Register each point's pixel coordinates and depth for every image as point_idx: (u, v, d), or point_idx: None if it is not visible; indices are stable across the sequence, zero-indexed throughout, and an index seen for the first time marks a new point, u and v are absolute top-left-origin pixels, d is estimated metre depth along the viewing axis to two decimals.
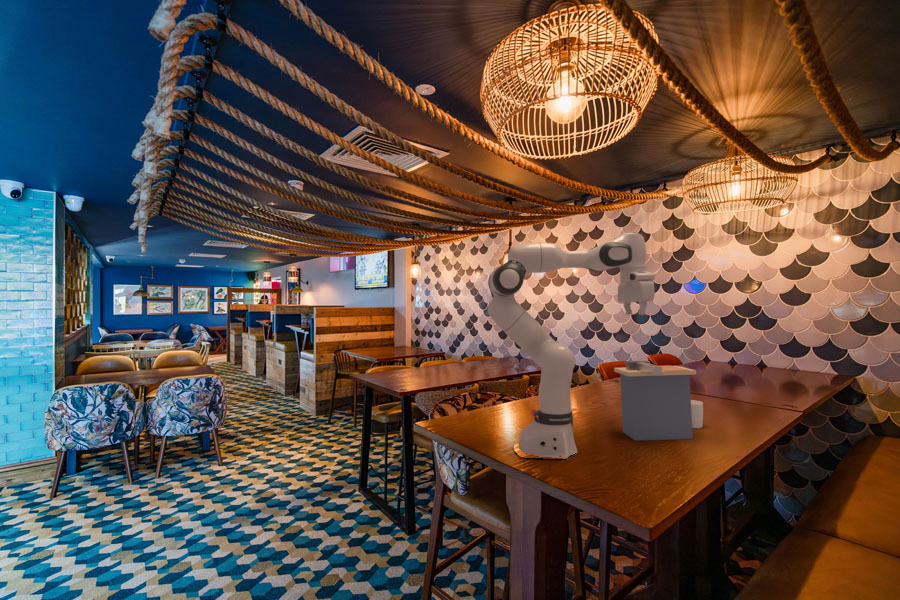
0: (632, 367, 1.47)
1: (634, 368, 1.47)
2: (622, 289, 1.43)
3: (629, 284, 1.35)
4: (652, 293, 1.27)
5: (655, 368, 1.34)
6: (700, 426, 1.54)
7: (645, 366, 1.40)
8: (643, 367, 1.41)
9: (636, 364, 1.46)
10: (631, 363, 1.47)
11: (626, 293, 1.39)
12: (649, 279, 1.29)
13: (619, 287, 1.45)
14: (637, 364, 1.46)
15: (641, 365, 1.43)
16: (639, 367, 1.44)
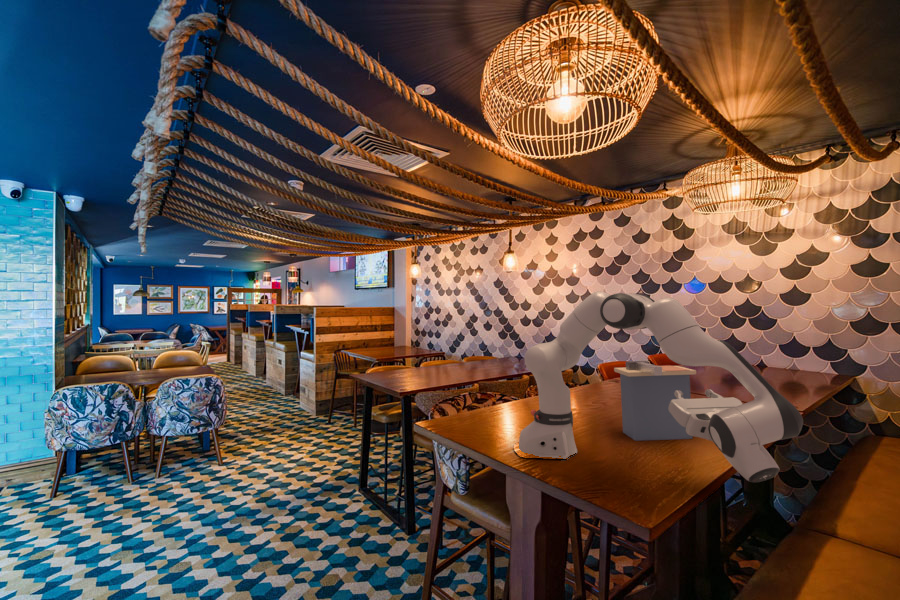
0: (632, 367, 1.47)
1: (634, 368, 1.47)
2: None
3: (711, 411, 1.05)
4: (672, 413, 1.10)
5: (655, 368, 1.34)
6: None
7: (645, 366, 1.40)
8: (643, 367, 1.41)
9: (636, 364, 1.46)
10: (631, 363, 1.47)
11: (717, 405, 1.08)
12: (686, 425, 1.05)
13: None
14: (637, 364, 1.46)
15: (641, 365, 1.43)
16: (639, 367, 1.44)
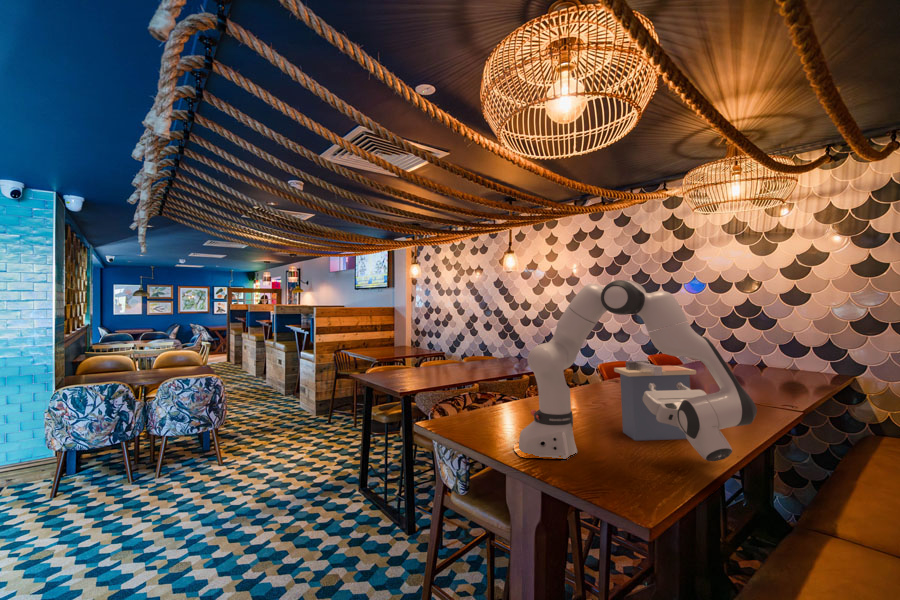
0: (632, 367, 1.47)
1: (634, 368, 1.47)
2: None
3: (678, 401, 1.19)
4: (645, 403, 1.24)
5: (655, 368, 1.34)
6: None
7: (645, 366, 1.40)
8: (643, 367, 1.41)
9: (636, 364, 1.46)
10: (631, 363, 1.47)
11: (684, 396, 1.22)
12: (657, 413, 1.20)
13: None
14: (637, 364, 1.46)
15: (641, 365, 1.43)
16: (639, 367, 1.44)
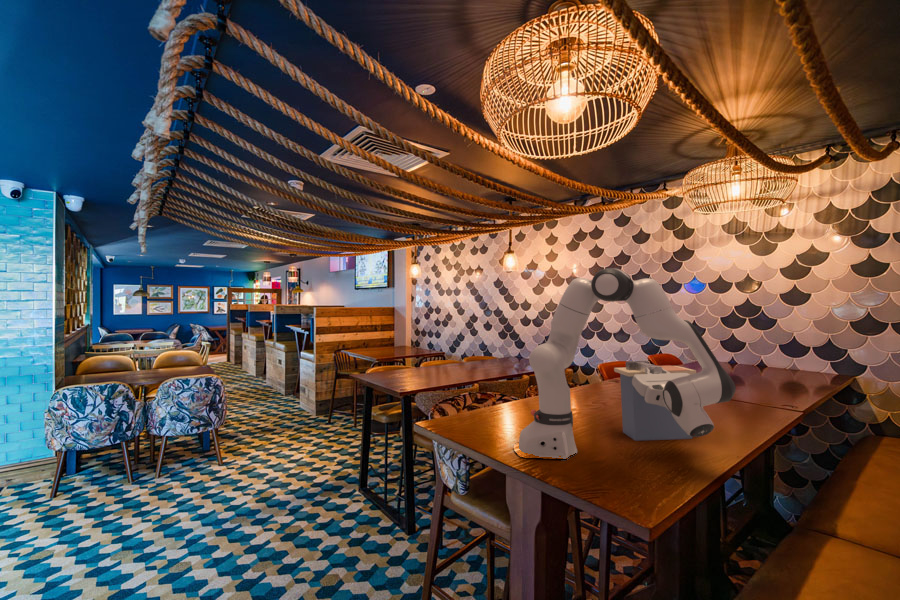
0: (632, 367, 1.47)
1: (634, 368, 1.47)
2: None
3: (665, 383, 1.27)
4: (634, 385, 1.31)
5: (655, 368, 1.34)
6: None
7: (645, 366, 1.40)
8: (643, 367, 1.41)
9: (636, 364, 1.46)
10: (631, 363, 1.47)
11: (671, 379, 1.30)
12: (645, 395, 1.27)
13: None
14: (637, 364, 1.46)
15: (641, 365, 1.43)
16: (639, 367, 1.44)
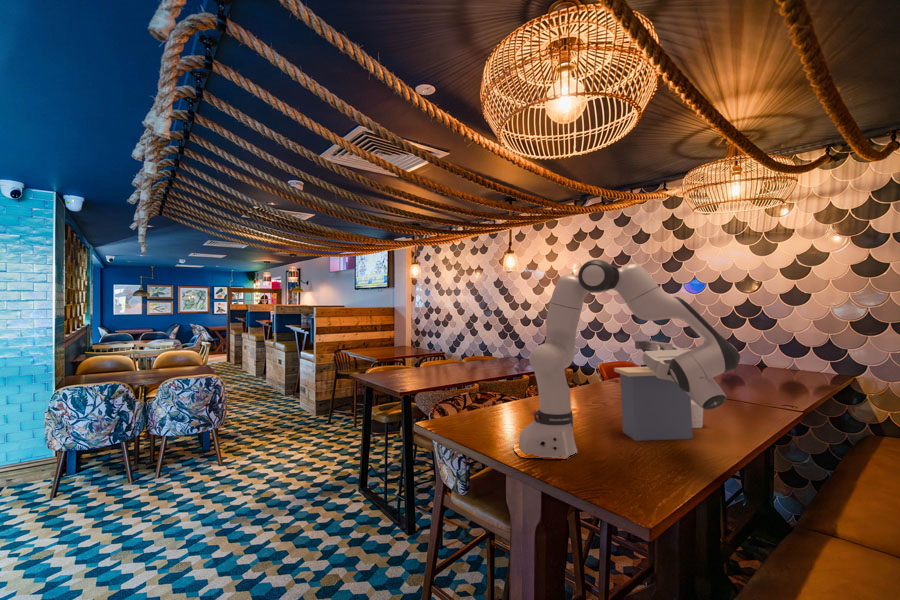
0: (642, 346, 1.47)
1: (644, 347, 1.47)
2: None
3: None
4: (645, 362, 1.32)
5: (665, 345, 1.34)
6: (700, 426, 1.54)
7: (655, 344, 1.40)
8: (653, 345, 1.42)
9: (646, 343, 1.47)
10: (641, 342, 1.47)
11: None
12: (656, 370, 1.27)
13: None
14: (647, 343, 1.46)
15: (651, 343, 1.43)
16: (649, 346, 1.44)
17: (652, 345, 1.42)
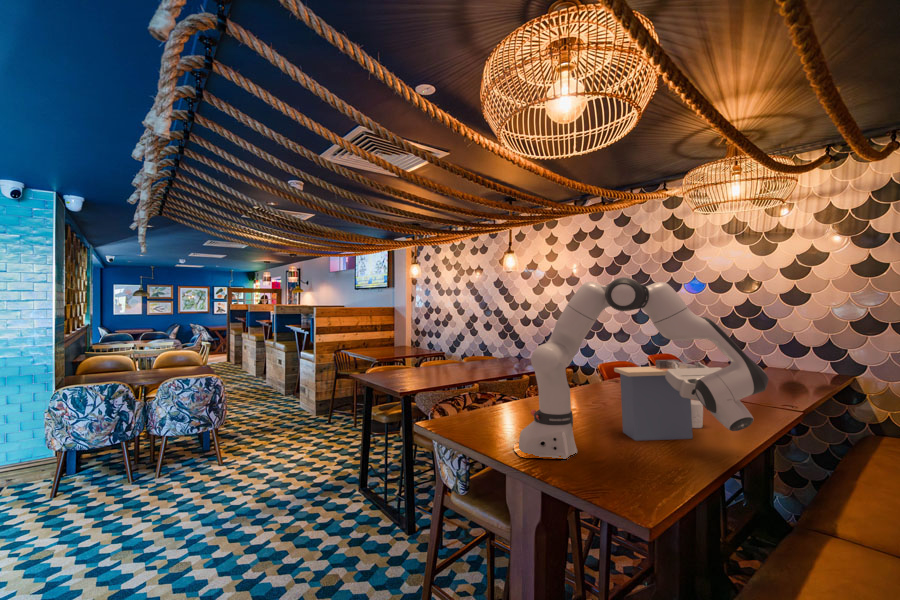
0: (663, 366, 1.47)
1: (665, 367, 1.47)
2: None
3: (700, 377, 1.27)
4: (668, 380, 1.32)
5: (689, 366, 1.34)
6: (700, 426, 1.54)
7: None
8: None
9: (667, 363, 1.46)
10: (662, 362, 1.47)
11: (705, 373, 1.30)
12: (680, 389, 1.27)
13: None
14: (668, 363, 1.46)
15: None
16: (670, 366, 1.44)
17: None
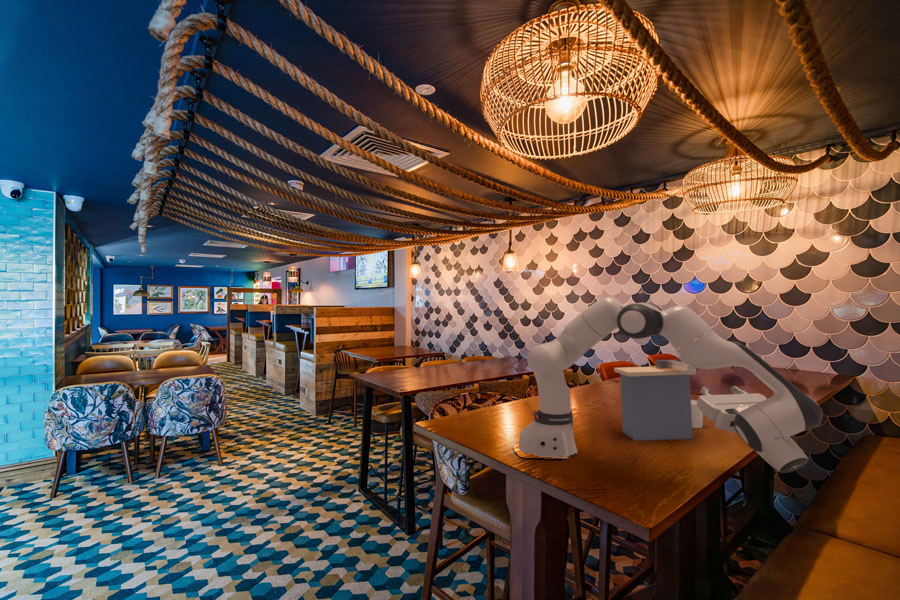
0: (663, 366, 1.47)
1: (665, 367, 1.47)
2: None
3: (739, 406, 1.11)
4: (700, 408, 1.15)
5: (689, 366, 1.34)
6: (700, 426, 1.54)
7: (677, 364, 1.40)
8: (675, 365, 1.41)
9: (667, 363, 1.46)
10: (662, 362, 1.47)
11: (743, 401, 1.14)
12: (715, 420, 1.11)
13: None
14: (668, 363, 1.46)
15: (673, 363, 1.43)
16: (670, 366, 1.44)
17: (674, 365, 1.42)
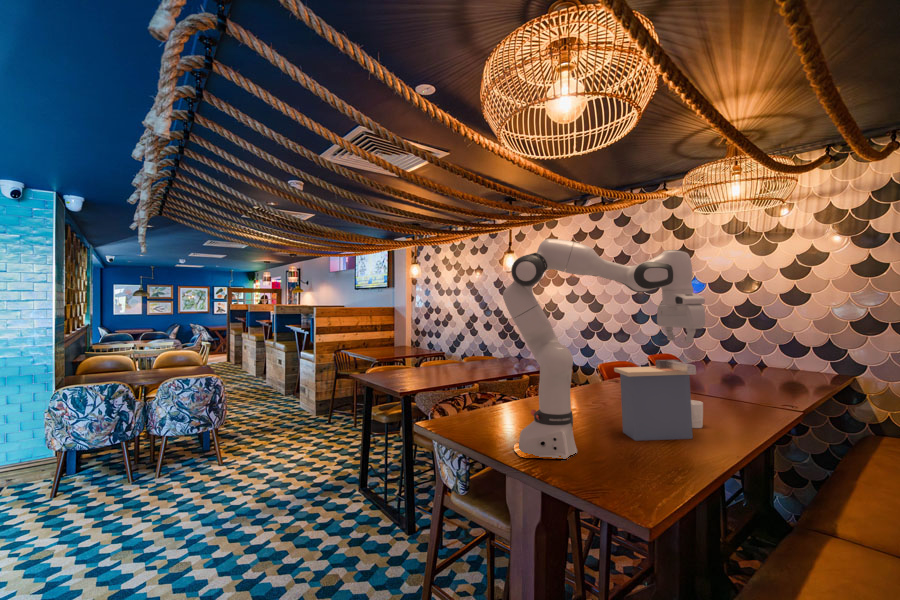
0: (663, 366, 1.47)
1: (665, 367, 1.47)
2: (663, 312, 1.29)
3: (674, 308, 1.21)
4: (703, 319, 1.13)
5: (689, 366, 1.34)
6: (700, 426, 1.54)
7: (677, 364, 1.40)
8: (675, 365, 1.41)
9: (667, 363, 1.46)
10: (662, 362, 1.47)
11: (669, 317, 1.25)
12: (699, 303, 1.15)
13: (659, 309, 1.31)
14: (668, 363, 1.46)
15: (673, 363, 1.43)
16: (670, 366, 1.44)
17: (674, 365, 1.42)
